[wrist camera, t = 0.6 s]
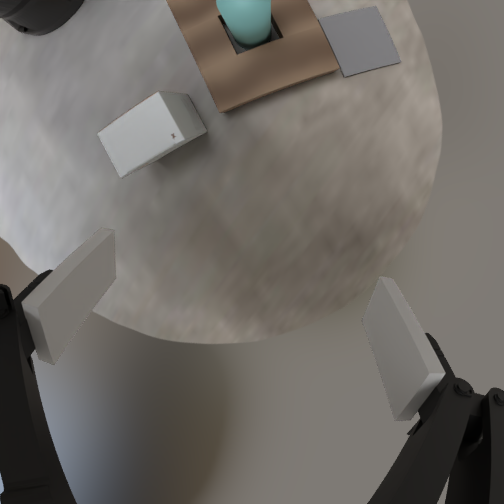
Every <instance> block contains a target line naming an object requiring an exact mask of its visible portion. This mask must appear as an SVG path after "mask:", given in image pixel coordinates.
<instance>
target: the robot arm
mask: <svg viewBox="0 0 504 504" xmlns="http://www.w3.org/2000/svg"><path fill="white" fill-rule="evenodd" d="M83 1H84V0H0V18H2V19H4V20H5V21H6V22H7V23H9V24H10V25H11V26H12V27H14V28H15V29H16V30H17V31H19V32H21V33H24V34H30V35H43V34H46V33H49V32H51V31H53V30H55V29H56V28H58V27H59V26H61V25H62V24H63V23H65V22H66V21H67V20H68V19H69V18H70V17H71V16H72V15H73V14H74V13H75V12H76V11H77V9H78V8H79V7H80V5H81V4H82V2H83ZM115 279H116V268H115V236H114V230H111V229H105V228H100V229H99V230H98V231H97V232H96V233H94V234H93V235H92V236H91V237H90V238H89V239H87V240H86V241H85V242H84V243H83V244H82V245H81V246H80V247H78V248H77V249H76V250H75V251H74V252H73V253H72V254H71V255H70V256H69V257H67V258H66V259H65V260H64V261H63V262H62V263H61V264H60V265H59V266H58V267H57V268H56V269H55V270H50V269H49V270H47V271H45V272H43V273H41V274H40V275H38V276H37V277H36V278H35V279H34V280H33V282H31V283H30V284H29V285H28V287H26V288H25V289H24V290H23V291H22V292H21V293H20V294H19V295H18V296H17V297H16V298H15V299H14V300H13V298H12V294H11V291H10V288H9V287H8V286H7V285H3V284H0V473H1V477H2V481H3V486H4V491H3V492H2V493H1V494H0V501H1V504H77V503H76V501H75V499H74V496H73V494H72V492H71V489H70V487H69V484H68V482H67V480H66V477H65V474H64V472H63V469H62V467H61V464H60V461H59V458H58V455H57V453H56V450H55V447H54V444H53V441H52V437H51V434H50V431H49V428H48V424H47V421H46V417H45V413H44V410H43V406H42V402H41V398H40V394H39V390H38V385H37V380H36V375H35V371H34V365H33V360H32V358H31V354H32V352H33V351H34V350H35V349H36V352H37V355H38V358H39V359H40V360H42V361H44V362H47V363H50V364H52V365H55V363H56V362H57V360H58V359H59V357H60V356H61V354H62V353H63V351H64V350H65V348H66V347H67V345H68V344H69V342H70V341H71V339H72V338H73V337H74V335H75V334H76V332H77V331H78V329H79V328H80V327H81V325H82V324H83V322H84V321H85V320H86V318H87V317H88V315H89V314H90V313H91V311H92V310H93V308H94V307H95V306H96V304H97V303H98V302H99V300H100V299H101V298H102V296H103V295H104V294H105V292H106V291H107V290H108V288H109V287H110V286H111V284H112V283H113V282H114V280H115ZM362 323H363V326H364V328H365V331H366V334H367V337H368V340H369V343H370V345H371V348H372V351H373V354H374V357H375V360H376V363H377V366H378V369H379V372H380V375H381V378H382V381H383V385H384V388H385V391H386V394H387V397H388V400H389V404H390V407H391V410H392V414H393V417H394V421H406V420H411V419H412V418H413V416H414V415H415V414H416V413H417V411H418V412H419V415H420V419H419V421H418V422H417V423H416V424H415V425H414V426H413V428H412V429H411V430H410V431H409V432H408V433H407V434H408V435H410V436H409V438H408V440H407V442H406V443H405V445H404V447H403V449H402V450H401V452H400V454H399V456H398V457H397V459H396V461H395V463H394V464H393V466H392V467H391V469H390V470H389V472H388V474H387V475H386V477H385V478H384V480H383V481H382V483H381V484H380V486H379V488H378V489H377V490H376V492H375V494H374V495H373V496H372V498H371V499H370V501H369V502H368V503H367V504H437V502H438V500H439V498H440V495H441V493H442V491H443V489H444V486H445V484H446V482H447V479H448V477H449V482H448V489H447V495H446V500H445V504H504V391H503V390H501V389H499V388H491V389H490V391H489V392H488V393H487V394H486V395H485V396H484V395H480V394H477V393H474V390H473V388H472V387H471V385H470V384H469V383H468V382H466V381H465V380H463V379H461V378H456V377H455V375H454V373H453V371H452V369H451V367H450V365H449V364H448V362H447V360H446V358H445V357H444V354H443V353H442V351H441V350H440V347H439V345H438V343H437V342H436V340H435V339H434V338H433V337H432V336H431V335H430V334H429V333H424V331H423V329H422V327H421V326H420V324H419V322H418V320H417V319H416V317H415V315H414V313H413V312H412V310H411V308H410V306H409V305H408V303H407V301H406V300H405V298H404V296H403V294H402V293H401V291H400V289H399V288H398V286H397V285H396V283H395V281H394V280H393V278H388V277H382V276H379V279H378V282H377V284H376V287H375V289H374V292H373V294H372V297H371V299H370V301H369V304H368V307H367V309H366V311H365V314H364V316H363V318H362ZM449 474H450V475H449Z"/></svg>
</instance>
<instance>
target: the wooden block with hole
mask: <svg viewBox="0 0 504 504" xmlns="http://www.w3.org/2000/svg"><path fill="white" fill-rule="evenodd" d="M166 1H167V3H168V5H169V7H170V9H171V11H172V13H173V15H174V17H175V19H176V21H177V23H178V26H179V28H180V30H181V32H182V34H183V36H184V38H185V40H186V42H187V44H188V46H189V48H190V51H191V53H192V55H193V57H194V59H195V61H196V63H197V65H198V67H199V70H200V72H201V74H202V76H203V78H204V80H205V82H206V84H207V87H208V89H209V91H210V93H211V95H212V97H213V100H214V102H215V104H216V106H217V108H218V110H219V113H225V112H227V111H229V110H232V109H234V108H236V107H239V106H241V105H244V104H246V103H249V102H251V101H253V100H256V99H258V98H261V97H264V96H266V95H269V94H271V93H274V92H277V91H279V90H282V89H285V88H287V87H290V86H293V85H296V84H299V83H302V82H305V81H307V80H310V79H313V78H317V77H320V76H323V75H326V74H329V73H332V72H334V71H336V70H338V69H339V68H340V67H339V65H338V63H337V60H336V58H335V56H334V54H333V51H332V49H331V47H330V45H329V43H328V41H327V39H326V36H325V34H324V32H323V30H322V28H321V26H320V24H319V22H318V20H317V18H316V16H315V14H314V12H313V11H312V9H311V7H310V5H309V3H308V1H307V0H271V23H272V25H273V27H274V29H275V31H276V33H277V35H278V37H279V39H278V40H275V41H272V42H269V43H266V44H264V45H261V46H258V47H256V48H253V49H250V50H248V51H245V52H243V53H240V54H238V55H237V53H236V51H235V49H234V46H233V44H232V42H231V40H230V38H229V36H228V34H227V32H226V30H225V28H224V26H223V24H226V22H225V20H224V19H223V17H222V15H221V13H220V11H219V10H218V7H217V4H216V0H166Z"/></svg>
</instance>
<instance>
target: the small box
mask: <svg viewBox="0 0 504 504" xmlns="http://www.w3.org/2000/svg"><path fill="white" fill-rule="evenodd" d="M206 132H207V130H206V128H205V126H204V124H203V122H202V121H201V119H200V117H199V115H198V113H197V111H196V109H195V107H194V106H193V104H192V102H191V100H190V98H189V96H188V95H187V94H181V93H172V92H162V91H157V92H156V93H154V94H153V95H151V96H149V97H148V98H146V99H145V100H143V101H142V102H140V103H139V104H137V105H136V106H134V107H133V108H131V109H130V110H128V111H127V112H126V113H124V114H123V115H121V116H120V117H119V118H117V119H116V120H114V121H113V122H112V123H110V124H109V125H107V126H106V127H105V128H103V129H102V130H101V131H99V132H98V133H97V134H98V136H99V138H100V140H101V142H102V144H103V146H104V148H105V150H106V152H107V154H108V156H109V158H110V160H111V161H112V163H113V165H114V167H115V169H116V171H117V173H118V175H119V176H120V178H124V177H126V176H128V175H129V174H131V173H133V172H135V171H137V170H139V169H141V168H143V167H145V166H147V165H149V164H151V163H153V162H155V161H156V160H158V159H160V158H161V157H163V156H165V155H166V154H168V153H170V152H171V151H173V150H175V149H177V148H178V147H180V146H182V145H184V144H186V143H187V142H189V141H191V140H193V139H195V138H196V137H198V136H200V135H202V134H204V133H206Z"/></svg>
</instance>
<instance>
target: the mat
mask: <svg viewBox="0 0 504 504" xmlns="http://www.w3.org/2000/svg"><path fill="white" fill-rule="evenodd" d="M318 22H319V24H320V26H321V28H322V30H323V32H324V34H325V36H326V39H327V41H328V43H329V45H330V47H331V49H332V51H333V54H334V56H335V58H336V60H337V63H338V65H339V67H340V70H341V72H342V75H343V77H347V76H350V75H354V74H357V73H361V72H364V71H368V70H372V69H375V68H379V67H383V66H387V65H391V64H395V63H400V62H401V60H400V57H399V55H398V52H397V50H396V48H395V45H394V43H393V41H392V38H391V36H390V34H389V32H388V30H387V27H386V25H385V23H384V21H383V19H382V17H381V15H380V13H379V11H378V9H377V7H376V6H373V7H368V8H363V9H358V10H353V11H349V12H345V13H340V14H336V15H332V16H328V17H324V18H321V19H318Z"/></svg>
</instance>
